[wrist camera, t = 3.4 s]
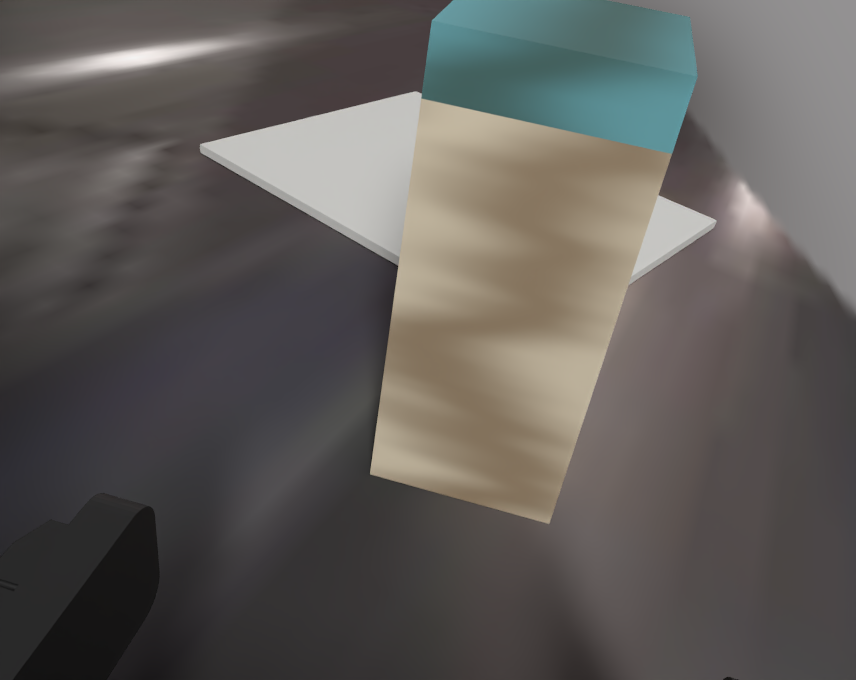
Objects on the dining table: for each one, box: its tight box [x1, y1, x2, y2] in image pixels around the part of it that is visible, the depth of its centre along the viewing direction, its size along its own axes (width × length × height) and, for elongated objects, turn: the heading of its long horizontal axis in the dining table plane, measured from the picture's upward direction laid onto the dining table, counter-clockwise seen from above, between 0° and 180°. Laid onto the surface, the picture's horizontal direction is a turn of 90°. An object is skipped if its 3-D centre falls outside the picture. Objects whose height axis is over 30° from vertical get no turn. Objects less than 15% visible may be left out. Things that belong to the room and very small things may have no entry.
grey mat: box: [200, 91, 717, 284], centre depth 38 cm, size 19×15×1 cm
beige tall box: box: [370, 0, 697, 524], centre depth 20 cm, size 5×5×12 cm
